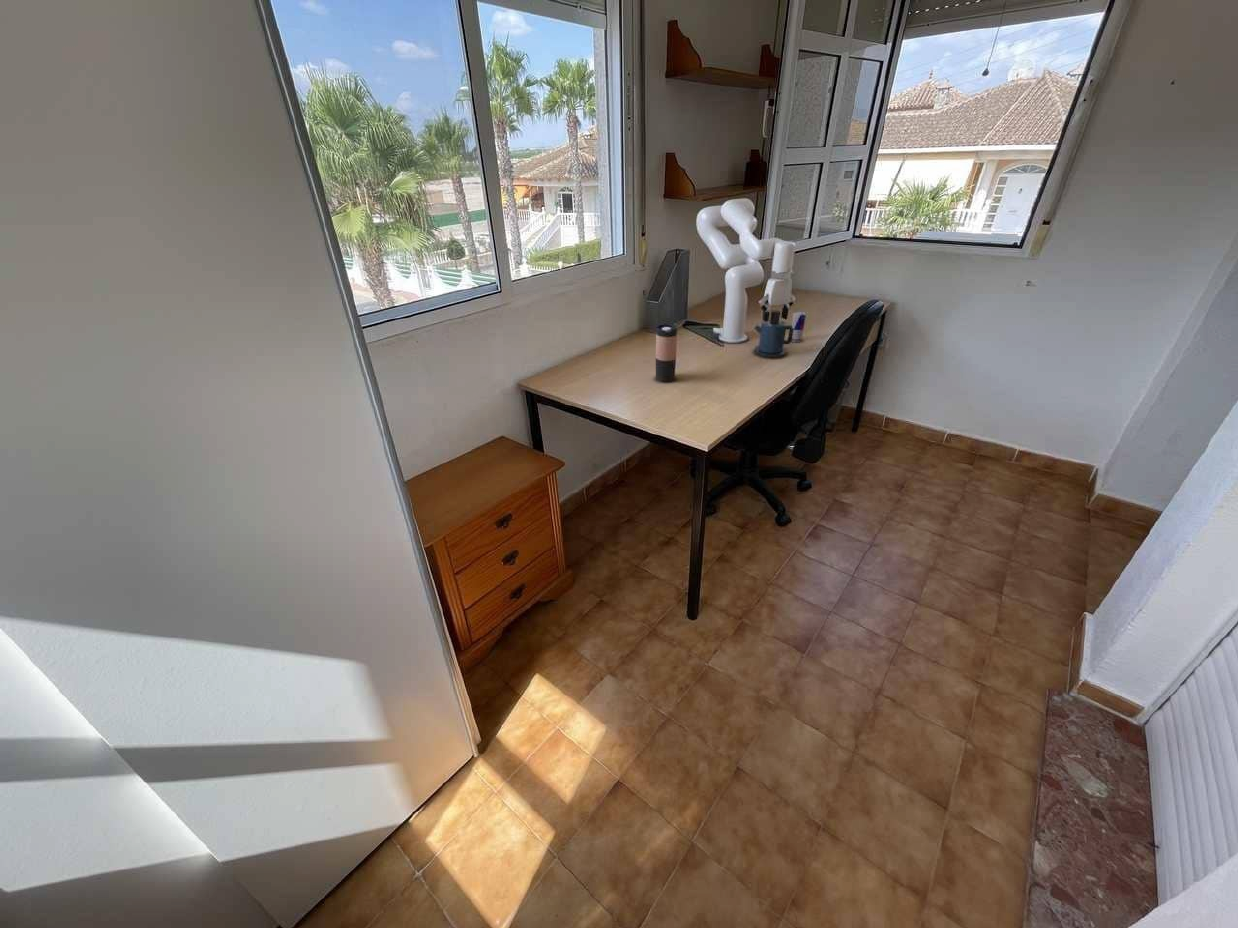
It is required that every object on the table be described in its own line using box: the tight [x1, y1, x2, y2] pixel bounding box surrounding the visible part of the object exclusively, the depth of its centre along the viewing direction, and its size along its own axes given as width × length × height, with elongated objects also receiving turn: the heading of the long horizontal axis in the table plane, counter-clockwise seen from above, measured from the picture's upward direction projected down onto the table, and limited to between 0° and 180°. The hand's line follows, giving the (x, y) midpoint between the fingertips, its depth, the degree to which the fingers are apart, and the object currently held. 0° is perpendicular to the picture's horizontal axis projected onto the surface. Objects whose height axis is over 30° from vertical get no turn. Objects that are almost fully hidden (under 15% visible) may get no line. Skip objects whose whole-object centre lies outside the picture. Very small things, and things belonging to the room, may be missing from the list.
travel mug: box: [655, 323, 678, 383], centre depth 194 cm, size 8×8×20 cm
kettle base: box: [753, 345, 787, 360], centre depth 221 cm, size 13×13×2 cm
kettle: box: [754, 309, 794, 353], centre depth 216 cm, size 16×10×16 cm, turn 70°
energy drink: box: [790, 311, 807, 343], centre depth 231 cm, size 5×5×12 cm
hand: (774, 319), depth 213 cm, fingers open, 8 cm apart
